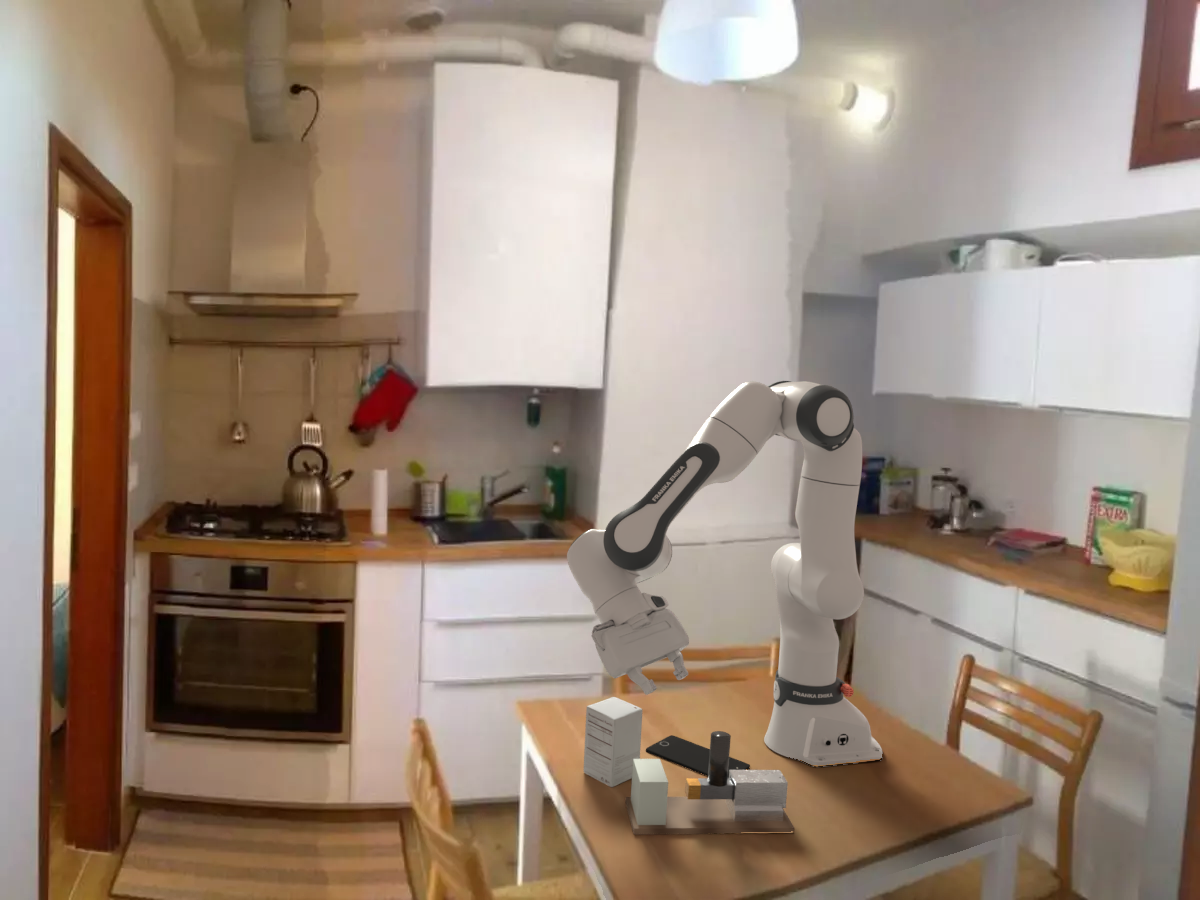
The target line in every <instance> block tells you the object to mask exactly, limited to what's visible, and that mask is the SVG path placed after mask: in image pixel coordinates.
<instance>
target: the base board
mask: <svg viewBox="0 0 1200 900" xmlns="http://www.w3.org/2000/svg"><path fill="white" fill-rule="evenodd" d="M625 806H626V807H625V808H626V810H627V813H628V818H629V822H630V825H631V829H632V832H633V835H715V834H714V833H717V834H716V835H720V834H719V833H722V834H721V835H725V834H724V833H741V832H791V831H794V832H795V826H794V824H793V822H791V819H790V818H789V815H788V814H787V813H786V811H785V808H782V809H783V811H784V812H783V821H734V819H733V817H732V815H731V813H730V811H729V808H728V806H727V804H726V799H688V798H687V796H667V810H666V825H637V821H636V817H635V814H634V810H633V806H632V803H631V796H625ZM703 833H704V834H703ZM708 833H710V834H708ZM711 833H712V834H711Z"/></svg>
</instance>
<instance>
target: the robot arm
mask: <svg viewBox="0 0 1200 900" xmlns="http://www.w3.org/2000/svg"><path fill="white" fill-rule="evenodd" d="M774 436H778V437H783V438H785V439H787V440H791V441H794V442H800V443H801V445H802V449H803V454H804V455H803V463H802V467H801V471H800V479H799V485H798V492H797V499H796V504H795V505H796V506H795V513H794V515H795V516H794V517H795V522H796V525H797V529H798V534H799V542H790V543H787V544H783V545H782V546H781V547H780V548H778V549H777V550H776V552H775V553H774V554H773V556H772V559H771V562H770V572H771V576H772V577H773V581H774V584H775V590H776V600H777V610H778V619H779V626H780V628H779V630H780V633H779V634H780V635H779V636H780V638H779V639H780V641H779V653H778V655H779V657H778V669H777V670H776V672H775V679H774V682H773V700H774V703H773V707H772V708H773V709H772V713H771V717H770V721H769V724H768V728H767V730H766V733H765V735H764V738H763V741H764V743H765V745H766V747H768V748H769V749H770V750H772V752H775V753H777V754H779V755H781V756H784V757H786V758H789V757H790V759H793V758H794V759H793V760H796V759H798V760H797V761H800V760H802V761H804V762H806V763H808V764H811V765H818V766H819V765H827V764H828V765H829V764H835V763H846V762H856V761H860V760H870V759H880V758H882V759H883V757H882V754H883V753H884V752H883V748H882V747H881V745H880V743H878V741H877V740H876V739H875V738H874V737H873V736H872V731H871V725H870V723H869V721H868V718H867V717H866V716H865V715H864V713H863V712H862V711H861V710H860V709H858V707H856V706H855V705H854V704H853V703H852V702H850V700H848V698H850V697H853V696H854V689H853V687H851V685H850V684H849V683H845V681H844V680H843V679H841V678H840V677H838V676H837V671H838V670H837V669H838V660H839V649H840V648H839V647H840V641H839V636H838V633H837V631H836V630H837V629H836V628H835V627H836V626H835V623H834V620H844V619H847V618H849V617H851V616H852V615H854V614H855V613H856V612H857V611H858V610H859V608H860V607H861V605H862V604H863V601H864V597H865V586H864V584H863V581H862V579H861V577H860V573H859V570H858V564H857V562H858V561H857V552H856V542H855V541H856V540H855V522H856V516H857V515H856V513H857V508H858V507H857V505H858V501H859V493H860V486H861V478H862V471H863V470H862V469H863V441H862V439H863V438H862V436H861V433H860V432H859V431H858V430H857V429H856V428H855V424H854V410H853V405H852V403H851V400H850V399H849V397H848V396H847V395H846V394H845V393H844V392H843V391H842V390H840V389H838V388H836V387H834V386H831V385H828V384H821V383H820V384H819V383H818V382H812V381H805V380H803V381H790V380H779V381H777V382H773V383H771V384H769V385H766V384H765V383H762V382H760V381H753V380H752V381H746V382H743V383H741V384H740V385H739V386H737V388H735V389H733V390H732V392H730V394H728V395H727V396H726V397H725V398H724V399H723V400H722V401H721V402H720V404H718V405H717V407H716V408H714V410H713V411H712V412H711V414H709V415H708V417H707V418H706V420H705V421H704V422H703V424H702V425H701V426H700V428H699V429H698V431H697V432H696V433H695V434H694V436H692V437H693V438H692V439H691V441H690V442H689V443H688V444H687V446H686V447H685V449H684V450H683V451H682V453H681V454H680V455H679V457H677V459H675V461H674V462H673V463H672V464H671V465H670V467H669V468H668V469H667V470H666V471H665V472H664V473H663V474H662V475H661V477H660V478H659V479H658V480H657V481H656V483H655V484H654V485H653V486H652V487H651V488H650V489H649V490H648V492H647V493H646V494H644V496H643V497H642V498H641V499H640V500H639V501H638V502H636V503H634V504H633V505H631V506H629V507H627V508H626V509H624V510H622V511H620V512H619V513H617V514H616V515H614V516H613V517H612V519H611V520H610V521H609V522H608V524H607V525H606V527H605V529H596V528H591V529H589V530H586V531H585V532H583V533H582V534H580V535H579V536H578V537H576V539H575V540H573V542H572V543H571V544H570V546H569V548H568V550H567V553H566V559H567V560H566V561H567V564H568V568H569V570H570V571H571V574H572V576H573V578H574V580H575V582H576V584H577V586H578V587H579V589H580V591H581V592H582V594H583V595H584V596H585V597H586V598H587V599H588V600H589V602H590V603H591V605H592V608H593V611H594V614H595V616H596V617H597V619H598V621H599V623H600V624H599V623H598V624H595V625H594V626H593V628H592V630H591V631H592V632H591V638H592V641H593V642H594V645H595V650H596V651H597V655H598V656H599V658H600V662H601V663H602V665H603V667H604V669H605V671H606V673H607V674H608V676H610V677H612V678H613V679H618V678H620V677H623V676H624V675H627V677H628V678H629V679H630V680H631V681H632V682H633V683H634V684H636V685H637V686H639V687H640V688H641V690H642V692H643V694H645V696H646V695H649V694H652V693H653V692H655V691H656V690H657V689H658V688H657V685H656V684H655V682H654V680H653V679H648V677H646V675H644V674H643V673H642V672H643V668H644V667H648V666H650V665H652V664H654V663H657V662H659V661H662V660H664V659H668V661H669V662H670V663H672V664H673V668H674V671H673V672H672V673H673V675H674V676H675V678H676V680H678V681H680V680H683V679H685V678H686V677H687V676H689V671H688V669H687V668H686V666H685V661H684V655H683V653H682V652H681V651H683V650H684V649H685V648H687V647H688V646H689V645H690V638H689V635H688V633H687V631H686V630H685V628H684V626H683V625H682V622H681V621H680V620H679V619H678V617H677V616H676V615H675V613H674V612H673V611H672V610H670V609H668V606H669V602H668V601H667V599H666V597H664V596H662V595H657V594H649V593H647V592H641V590H640V588H639V586H638V585H637V584H639V583H643V582H645V581H647V580H649V579H651V578H654V577H656V576H658V575H660V574H662V573H663V572H664V571H665V570H666V569H667V568H668V566H669V565H670V562H671V561H672V557H673V546H672V544H671V541H670V539H669V538H668V536H667V531H668V529H669V527H670V526H671V524H672V523H673V521H674V520H675V519H676V518H677V517H678V516H679V515H680V513H681V512H682V511H683V510H684V509H685V508H686V507H687V505H688V504H689V502H691V500H692V499H693V498H694V497H695V495H696V494H698V492H700V491H701V490H702V489H704V488H705V487H707V486H710V485H713V484H716V483H717V484H723V483H724V484H725V483H728V482H730V481H731V482H732V481H733V480H734V479H735V478H736V477H738V476H739V475H740V474H741V473H742V472H743V471H745V469H746V468H747V467H749V465H750V464H751V463H752V462H753V460H754V459H755V458H756V456H757V455H758V454H759V453H760V451H761V450H762V448H763V447H764V446H765V444H766V443H767V441H769V440H770V439H771V438H772V437H774ZM852 695H853V696H852ZM802 761H801V762H802ZM804 762H803V763H804ZM806 763H805V764H806ZM808 764H807V765H808Z"/></svg>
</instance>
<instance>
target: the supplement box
mask: <svg viewBox="0 0 1200 900" xmlns="http://www.w3.org/2000/svg"><path fill="white" fill-rule="evenodd" d="M585 711H586V712H585V713H586V714H585V733H584V734H585V735H584V752H583V753H584V754H583V773H584V774H585V775H587V776H589V777H591V778H593V779H595V780H597V781H599V782H601V783H602V784H604V785H607V786H608V787H610V788H613V787H616V786H618V785H619V784H620V785H621V784H622V783H624V782H626V781H629V780H632V770H633V759H641V747H642V746H641V745H642V744H641V743H642V742H641V741H642V727H643V725H642V724H643V709H642V708H641V707H639V706H637V705H635V704H632V703H630V702H627V700H626V701H625V700H623V699H620V698H619V697H615V696H611V697H609V698H606V699H604V700H601V701H598V702H594V703H592V704H589V705H586V710H585Z"/></svg>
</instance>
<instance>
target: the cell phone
mask: <svg viewBox="0 0 1200 900" xmlns="http://www.w3.org/2000/svg"><path fill="white" fill-rule="evenodd" d="M645 752H646V753H648V754H650V755H653V756H656V757H659V759H660V758H661V759H662V760H664V761H668V762H670V763H673V764H675V765H677V764H678V766H679V767H682V766H683V767H682V768H685V767H686V769H687V768H688V770H690V769H691V770H690V771H692V770H693V772H695V771H696V772H695V773H697V772H699V773H698V774H700V773H702V774H704V775H703V776H705V775H707V776H708V768H709V754H710V748H707V747H705V746H702V745H700V744H698V743H694V742H692V741H690V740H686V739H683V738H681V737H678V736H676V735H669V736H666V737H665V738H663V739H660V740H658V741H657V742H656V743H653V744H652V745H650V746H648V747H646V748H645ZM749 767H750V768H751V765H750V764H749V763H747V762H745V761H742V760H739V759H737V758H734V757H732V756H729V766H728V778H729V770H746V769H748V768H749ZM748 770H749V769H748ZM702 774H701V775H702ZM707 776H706V777H707Z"/></svg>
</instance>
